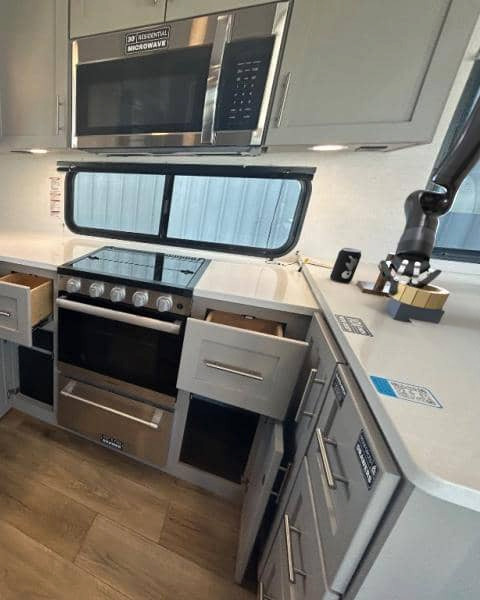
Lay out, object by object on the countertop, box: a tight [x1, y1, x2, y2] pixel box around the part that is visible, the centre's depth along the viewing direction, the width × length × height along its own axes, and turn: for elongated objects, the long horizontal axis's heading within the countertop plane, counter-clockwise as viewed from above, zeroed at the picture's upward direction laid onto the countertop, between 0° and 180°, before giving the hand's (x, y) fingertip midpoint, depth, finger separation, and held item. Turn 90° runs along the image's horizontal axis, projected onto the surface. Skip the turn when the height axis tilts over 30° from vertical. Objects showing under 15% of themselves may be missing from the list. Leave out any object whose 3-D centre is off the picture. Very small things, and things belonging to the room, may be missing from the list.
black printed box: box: [329, 247, 362, 284], centre depth 121 cm, size 7×7×12 cm
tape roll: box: [392, 280, 451, 309], centre depth 91 cm, size 10×10×4 cm
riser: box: [385, 294, 446, 325], centre depth 93 cm, size 9×9×5 cm
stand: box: [356, 252, 395, 298], centre depth 111 cm, size 10×10×14 cm
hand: (400, 295), depth 93 cm, fingers closed on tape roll, 2 cm apart
